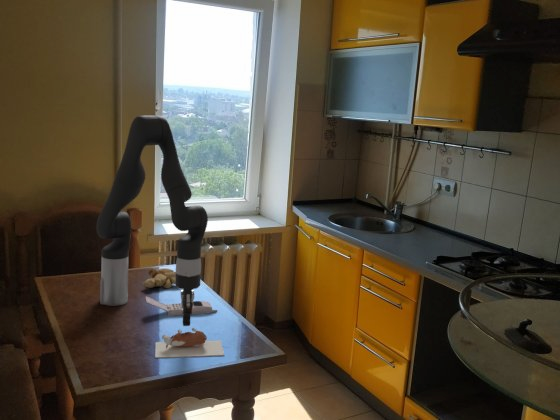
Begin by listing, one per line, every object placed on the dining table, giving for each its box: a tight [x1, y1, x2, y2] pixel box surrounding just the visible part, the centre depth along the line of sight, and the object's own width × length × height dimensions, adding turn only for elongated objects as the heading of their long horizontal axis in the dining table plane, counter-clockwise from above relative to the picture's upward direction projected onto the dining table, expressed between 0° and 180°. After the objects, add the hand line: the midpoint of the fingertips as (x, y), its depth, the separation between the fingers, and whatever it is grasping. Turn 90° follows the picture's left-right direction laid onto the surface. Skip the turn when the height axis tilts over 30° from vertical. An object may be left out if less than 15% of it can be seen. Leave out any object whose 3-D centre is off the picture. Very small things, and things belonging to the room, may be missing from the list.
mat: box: [154, 339, 225, 359], centre depth 162 cm, size 20×10×1 cm, turn 102°
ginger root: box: [142, 267, 176, 289], centre depth 217 cm, size 16×16×8 cm
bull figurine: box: [161, 327, 208, 349], centre depth 163 cm, size 4×13×8 cm
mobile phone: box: [144, 295, 218, 317], centre depth 189 cm, size 6×6×25 cm
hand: (186, 325), depth 165 cm, fingers closed
